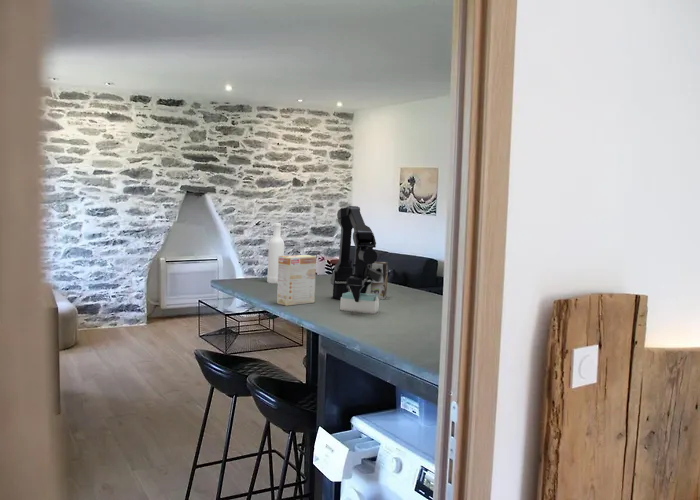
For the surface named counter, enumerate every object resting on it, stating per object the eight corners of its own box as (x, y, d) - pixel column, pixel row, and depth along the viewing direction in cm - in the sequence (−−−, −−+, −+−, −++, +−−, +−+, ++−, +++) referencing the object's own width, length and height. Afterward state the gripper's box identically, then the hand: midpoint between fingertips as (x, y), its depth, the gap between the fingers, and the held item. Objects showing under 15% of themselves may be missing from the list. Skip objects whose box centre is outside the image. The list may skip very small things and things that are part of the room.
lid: (342, 298, 240) (342, 294, 240) (347, 295, 247) (348, 291, 247) (372, 301, 237) (372, 297, 236) (377, 298, 244) (377, 294, 243)
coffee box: (383, 300, 272) (386, 263, 271) (369, 298, 273) (371, 262, 272) (386, 296, 281) (388, 261, 280) (373, 295, 282) (374, 260, 281)
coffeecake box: (304, 300, 260) (306, 254, 259) (315, 302, 255) (317, 256, 254) (275, 303, 250) (277, 255, 248) (286, 306, 245) (288, 257, 243)
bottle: (264, 282, 306) (267, 222, 303) (269, 280, 313) (271, 222, 311) (280, 284, 304) (283, 223, 302) (284, 282, 312) (287, 223, 310)
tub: (339, 310, 242) (340, 294, 241) (344, 307, 247) (345, 292, 247) (374, 313, 237) (375, 298, 237) (378, 311, 243) (379, 295, 242)
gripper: (375, 265, 229) (373, 306, 231) (387, 261, 247) (385, 299, 248) (347, 262, 233) (344, 303, 234) (361, 258, 250) (359, 296, 252)
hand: (359, 300), depth 242 cm, fingers closed on lid, 7 cm apart
